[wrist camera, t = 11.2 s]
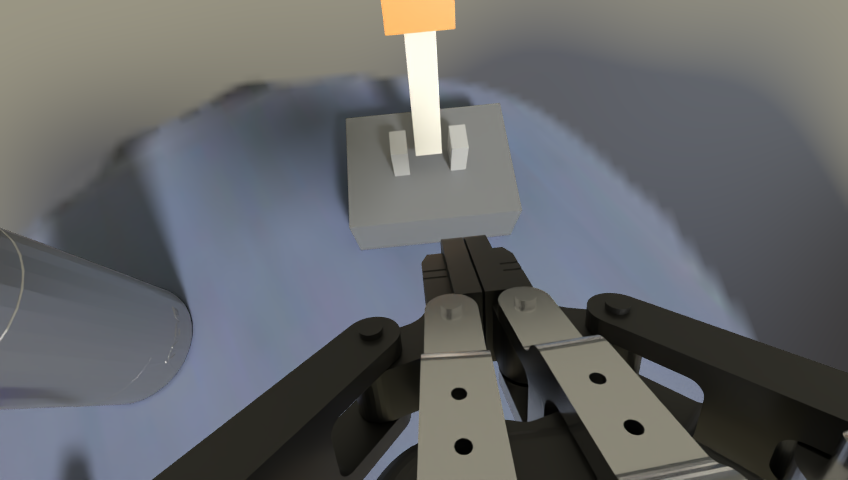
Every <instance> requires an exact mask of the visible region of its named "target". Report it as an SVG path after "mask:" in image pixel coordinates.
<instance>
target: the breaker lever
mask: <svg viewBox="0 0 848 480" xmlns="http://www.w3.org/2000/svg"><path fill="white" fill-rule="evenodd" d="M381 6H382V14H383V22H384V30H385V35H386V36H387V35H397V34H404V39H405V50H406V59H407V70H408V81H409V91H410V101H411V112H412V122H413V133H414V143H415V152H416V156H421V155H431V154H441V153H442V143H441V124H440V105H439V86H438V68H437V48H436V31H438V30H448V29H455V0H381Z"/></svg>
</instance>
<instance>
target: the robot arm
mask: <svg viewBox="0 0 848 480" xmlns="http://www.w3.org/2000/svg"><path fill="white" fill-rule="evenodd" d="M422 273H423V283H424V293H425V303H426V307H425V313H424V314H423V316H422V317H421V318H419V319H418V320H417V321H415V322H413V323H411V324H409V325H406V326H403V327H400V328H399V326H398V324H397V323H396V322H395V321H393V320H391V319H389V318H385V317H371V318H366V319H363V320H360V321H358V322H356V323H354V324H353V325H351V326H350V327H349V328H347V329H346V330H345V331H343V332H342V333H341V334H339V335H338V336H337V337H336V338H334V339H333V340H332V341H330V342H329V343H328V344H327V345H325V346H324V347H323V348H321V349H320V350H319V351H318V352H316V353H315V354H314V355H312V356H311V357H310V358H309V359H307V360H306V361H305V362H303V363H302V364H301V365H299V366H298V367H297V368H296V369H294V370H293V371H292V372H290V373H289V374H288V375H287V376H285V377H284V378H283V379H281V380H280V381H279V382H278V383H276V384H275V385H274V386H272V387H271V388H270V389H269V390H267V391H266V392H265V393H263V394H262V395H261V396H259V397H258V398H257V399H256V400H254V401H253V402H252V403H250V404H249V405H248V406H247V407H245V408H244V409H243V410H241V411H240V412H239V413H238V414H236V415H235V416H234V417H232V418H231V419H230V420H228V421H227V422H226V423H225V424H223V425H222V426H221V427H219V428H218V429H217V430H216V431H214V432H213V433H212V434H210V435H209V436H208V437H207V438H205V439H204V440H203V441H201V442H200V443H199V444H198V445H196V446H195V447H194V448H192V449H191V450H190V451H188V452H187V453H186V454H185V455H183V456H182V457H181V458H179V459H178V460H177V461H176V462H174V463H173V464H172V465H170V466H169V467H168V468H167V469H165V470H164V471H163V472H161V473H160V474H159V475H158V476H156V477H155V478H154V479H152V480H363V479H364V478H365V477H366V475H367V474H368V473H369V472H370V470H371V469H372V468H373V467H374V466H375V464H376V463H377V462H378V461H379V459H380V458H381V457H382V456H383V455H384V453H385V452H386V451H387V450H388V449H389V447H390V446H391V445H392V444H393V442H394V441H395V440H396V439H397V438H398V436H399V435H400V434H401V433H402V431H403V430H404V429H405V428H406V426H407V425H408V423H409V421H410V418H411V413H413V412H416V411H418V410H419V434H418V444H416V445H414V446H412V447H410V448H409V449H407V450H406V451H404V452H403V453H402V454H400V455H399V456H398V457H397V458H396V459H394V460H393V461H392V462H391V463H390V464H389V465H388V466H387V468H386V469H385V470H384V471H383V472H382V473H381V475H380V476H379V477H378V479H377V480H848V373H847V372H844V371H841V370H838V369H835V368H832V367H829V366H827V365H824V364H821V363H818V362H815V361H812V360H809V359H806V358H804V357H801V356H798V355H795V354H792V353H790V352H787V351H784V350H781V349H778V348H775V347H772V346H770V345H767V344H764V343H761V342H758V341H755V340H752V339H750V338H747V337H744V336H741V335H738V334H735V333H732V332H730V331H727V330H724V329H721V328H718V327H715V326H712V325H710V324H707V323H704V322H701V321H698V320H695V319H692V318H690V317H687V316H684V315H681V314H678V313H675V312H673V311H670V310H667V309H664V308H661V307H658V306H655V305H653V304H650V303H647V302H644V301H641V300H638V299H635V298H633V297H630V296H626V295H622V294H616V293H603V294H598V295H595V296H593V297H591V298H590V299H589V300H588V302H587V309H576V308H566V307H560V306H558V305H557V304H556V303H555V302H554V300H553V299H552V298H551V297H550V295H549V294H547V293H546V292H544V291H542V290H540V289H537V288H533V286H532V285H531V283H530V281H529V280H528V278H527V276H526V275H525V273H524V271H523V270H522V269H521V266H520V265H519V263H518V262H517V260H516V258H515V256H514V255H513V253H511V252H510V251H508V250H506V249H505V248H503V247H499V248H492V247H491V245H490V243H489V241H488V239H487V237H486V235H478V236H468V237H463V238H462V237H459V238H449V239H441V254H431V255H427V256H426V257H425V259H424V260H423V261H422ZM191 339H192V323H191V318H190V314H189V312H188V310H187V308H186V306H185V304H184V303H183V302H182V301H181V300H180V299H179V298H178V297H177V296H176V295H174V294H173V293H171V292H170V291H167V290H164V289H162V288H159V287H157V286H154V285H151V284H149V283H146V282H143V281H141V280H138V279H136V278H133V277H131V276H128V275H125V274H123V273H120V272H117V271H115V270H112V269H109V268H107V267H104V266H101V265H99V264H96V263H93V262H91V261H88V260H85V259H83V258H80V257H77V256H75V255H72V254H69V253H67V252H64V251H61V250H59V249H56V248H53V247H51V246H48V245H45V244H43V243H40V242H37V241H35V240H32V239H29V238H27V237H24V236H21V235H19V234H16V233H13V232H11V231H8V230H5V229H3V228H0V410H5V409H28V408H51V407H80V406H103V405H121V404H131V403H134V402H137V401H141V400H144V399H146V398H147V397H149V396H151V395H153V394H155V393H156V392H158V391H159V390H160V389H162V388H163V387H164V386H165V385H167V384H168V383H169V381H170V380H171V379H172V378H173V377H174V376H175V375H176V374H177V372H178V371H179V369H180V368H181V366H182V364H183V363H184V361H185V359H186V356H187V354H188V351H189V349H190V344H191ZM642 357H644V358H646V359H648V360H650V361H653V362H655V363H657V364H659V365H662V366H664V367H666V368H668V369H671V370H673V371H675V372H677V373H680V374H682V375H684V376H686V377H688V378H690V379H692V380H693V381H695V382H696V383H697V384H698V385H699V386H700V387H701V389H702V391H703V393H704V401H703V403H699V402H696V401H694V400H692V399H690V398H687V397H685V396H683V395H681V394H679V393H677V392H675V391H673V390H671V389H669V388H667V387H664V386H662V385H660V384H658V383H656V382H654V381H652V380H650V379H648V378H646V377H644V376H641V375H639V370H640V364H641V359H642ZM493 361H497V362H498V365H499V383H500V386H501V388H502V391H503V393H504V395H505V398H506V400H507V403H508V405H509V407H510V410H511V412H512V414H513V417H514V419H515V421H512V420H505V419H504V414H503V409H502V404H501V400H500V395H499V390H498V385H497V380H496V375H495V370H494V366H493ZM356 399H357V400H356ZM355 400H356V401H355ZM354 401H355V402H354ZM353 402H354V403H353ZM352 403H353V404H352ZM351 404H352V405H351ZM350 405H351V406H350ZM349 406H350V407H349ZM348 407H349V408H348ZM347 408H348V409H347ZM346 409H347V410H346ZM345 410H346V411H345ZM344 411H345V412H344ZM343 412H344V413H343ZM342 413H343V414H342ZM341 414H342V415H341ZM340 415H341V416H340Z"/></svg>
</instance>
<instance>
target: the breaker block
mask: <svg viewBox="0 0 848 480" xmlns="http://www.w3.org/2000/svg"><path fill="white" fill-rule="evenodd" d="M440 124H441V143H442V153H441V154H431V155H421V156H416V152H415V143H414V133H413V122H412V112H405V113H395V114H385V115H375V116H365V117H355V118H346V138H347V168H348V197H349V227H350V230H351V232H352V234H353V235H354V237H355V239H356V241H357V243H358V245H359V247H360V249H361V250H368V249H377V248H387V247H397V246H407V245H416V244H426V243H436V242H441V239H449V238H459V237H462V238H463V237H468V236H478V235H486V237H494V236H504V235H511V232H512V230H513V228H514V226H515V224H516V222H517V220H518V218H519V216H520V214H521V211H522V208H521V203H520V198H519V193H518V189H517V184H516V179H515V174H514V169H513V164H512V160H511V155H510V150H509V145H508V140H507V135H506V130H505V126H504V121H503V116H502V111H501V106H500V103H496V104H486V105H476V106H466V107H456V108H446V109H440Z"/></svg>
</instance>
